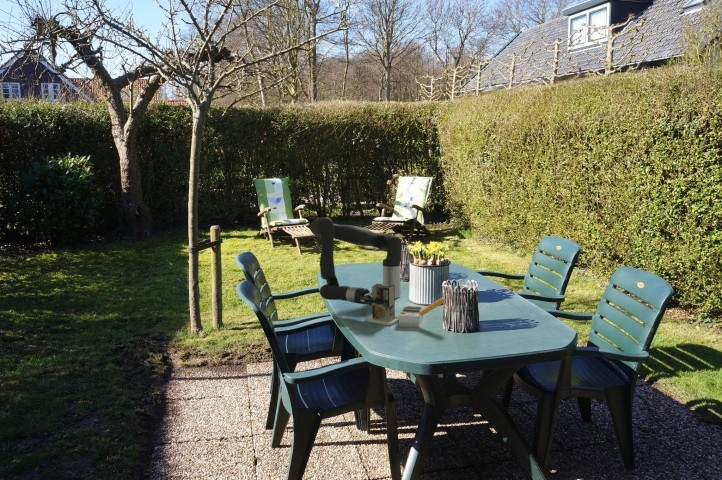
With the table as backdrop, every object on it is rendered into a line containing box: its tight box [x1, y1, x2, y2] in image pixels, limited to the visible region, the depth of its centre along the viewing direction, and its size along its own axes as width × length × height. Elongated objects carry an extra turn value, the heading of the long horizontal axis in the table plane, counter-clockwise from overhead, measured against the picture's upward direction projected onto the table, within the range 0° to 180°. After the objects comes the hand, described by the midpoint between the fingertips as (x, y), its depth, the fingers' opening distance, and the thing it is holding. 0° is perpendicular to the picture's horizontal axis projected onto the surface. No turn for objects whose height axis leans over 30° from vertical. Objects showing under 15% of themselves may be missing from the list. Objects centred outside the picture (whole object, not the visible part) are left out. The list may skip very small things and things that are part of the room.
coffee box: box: [371, 283, 396, 322], centre depth 259 cm, size 9×6×16 cm
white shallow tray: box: [365, 315, 399, 327], centre depth 261 cm, size 11×14×1 cm
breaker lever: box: [420, 296, 445, 317], centre depth 251 cm, size 3×2×16 cm
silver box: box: [398, 305, 424, 328], centre depth 257 cm, size 14×9×6 cm, turn 167°
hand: (387, 299), depth 258 cm, fingers open, 8 cm apart
